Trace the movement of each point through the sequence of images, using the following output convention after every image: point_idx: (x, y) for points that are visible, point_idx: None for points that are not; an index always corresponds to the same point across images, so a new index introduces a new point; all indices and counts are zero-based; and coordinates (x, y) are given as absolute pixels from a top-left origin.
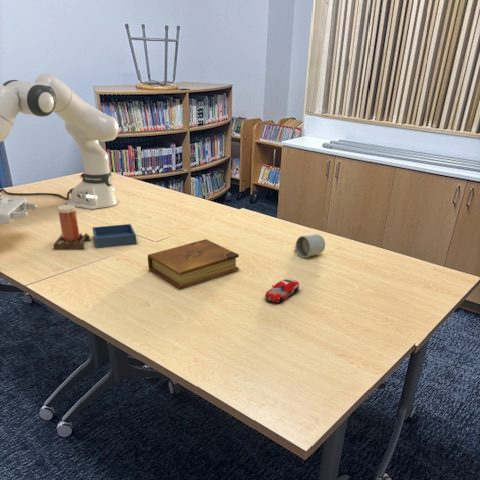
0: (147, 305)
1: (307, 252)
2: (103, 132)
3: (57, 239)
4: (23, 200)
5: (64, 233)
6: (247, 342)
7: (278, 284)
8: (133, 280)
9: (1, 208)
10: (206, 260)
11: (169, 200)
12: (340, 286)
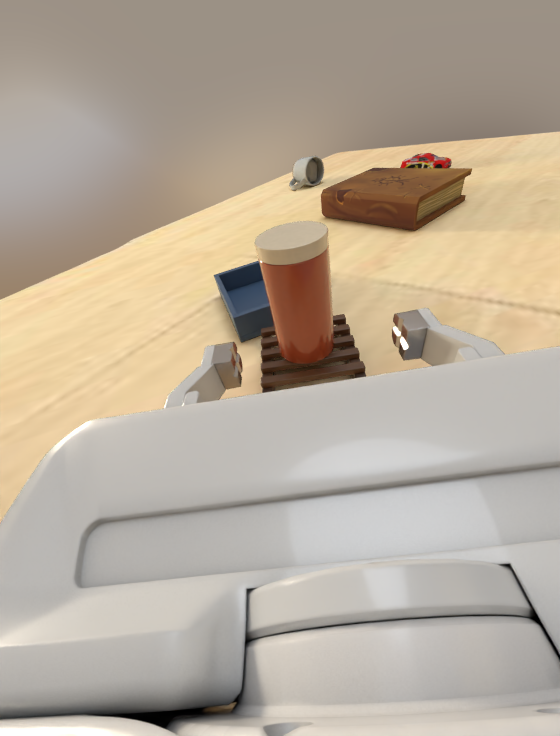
0: (546, 200)
1: (316, 176)
2: None
3: (328, 372)
4: (145, 412)
5: (331, 328)
6: (551, 156)
7: (429, 155)
8: (469, 230)
9: (475, 499)
10: (409, 171)
11: (11, 311)
12: (382, 165)
